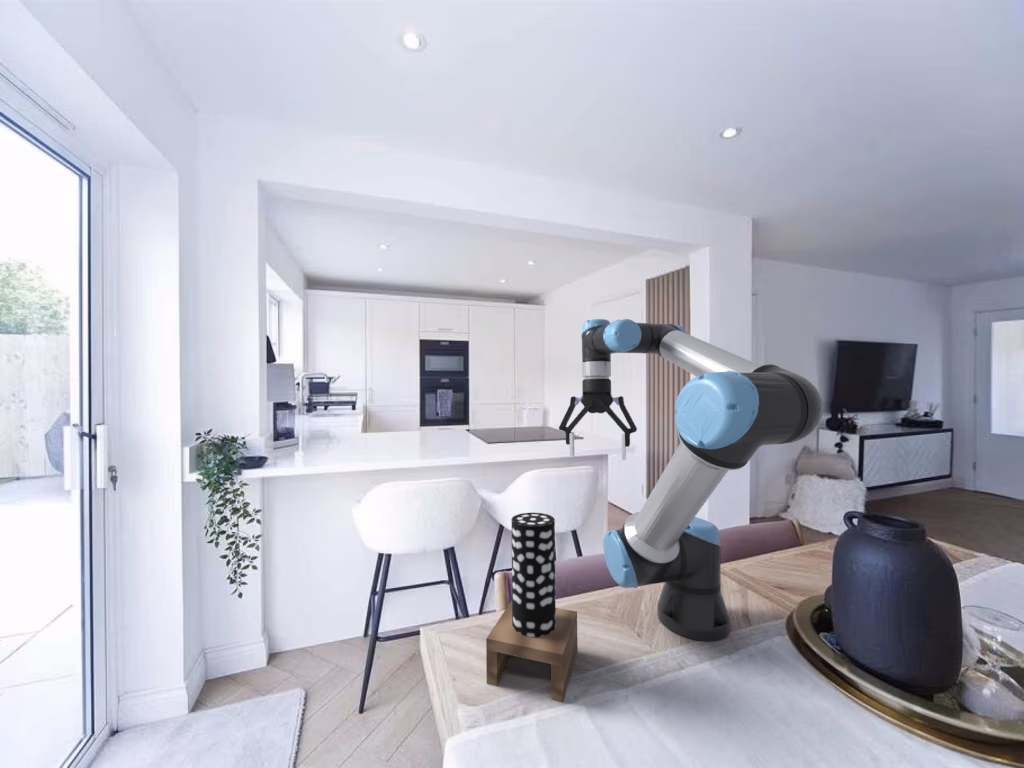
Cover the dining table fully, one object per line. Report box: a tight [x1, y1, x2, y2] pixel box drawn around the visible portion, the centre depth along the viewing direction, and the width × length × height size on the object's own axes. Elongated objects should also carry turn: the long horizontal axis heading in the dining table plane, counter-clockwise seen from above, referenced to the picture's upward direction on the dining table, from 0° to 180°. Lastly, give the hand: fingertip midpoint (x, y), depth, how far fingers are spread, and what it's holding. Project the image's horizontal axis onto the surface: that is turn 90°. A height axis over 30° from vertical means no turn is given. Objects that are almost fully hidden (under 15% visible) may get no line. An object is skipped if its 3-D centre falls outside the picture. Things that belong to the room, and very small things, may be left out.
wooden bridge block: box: [485, 600, 578, 703], centre depth 77 cm, size 14×14×8 cm
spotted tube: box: [511, 512, 557, 637], centre depth 77 cm, size 8×8×20 cm
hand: (597, 458), depth 107 cm, fingers open, 13 cm apart
